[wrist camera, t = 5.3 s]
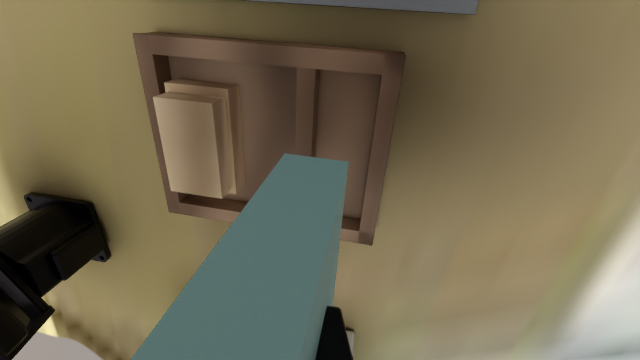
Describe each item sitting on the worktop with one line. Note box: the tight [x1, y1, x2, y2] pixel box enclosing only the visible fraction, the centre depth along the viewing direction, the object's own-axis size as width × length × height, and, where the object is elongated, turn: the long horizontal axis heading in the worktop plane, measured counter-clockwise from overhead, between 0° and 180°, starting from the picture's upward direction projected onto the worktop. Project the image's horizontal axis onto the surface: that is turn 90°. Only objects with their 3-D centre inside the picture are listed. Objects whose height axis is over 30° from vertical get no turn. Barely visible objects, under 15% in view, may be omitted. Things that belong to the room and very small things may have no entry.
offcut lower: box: [164, 78, 245, 194], centre depth 20 cm, size 4×7×2 cm, turn 177°
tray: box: [133, 32, 406, 245], centre depth 20 cm, size 15×12×2 cm
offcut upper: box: [153, 92, 232, 199], centre depth 19 cm, size 4×6×2 cm, turn 177°
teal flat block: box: [131, 153, 349, 360], centre depth 8 cm, size 2×7×8 cm, turn 177°
